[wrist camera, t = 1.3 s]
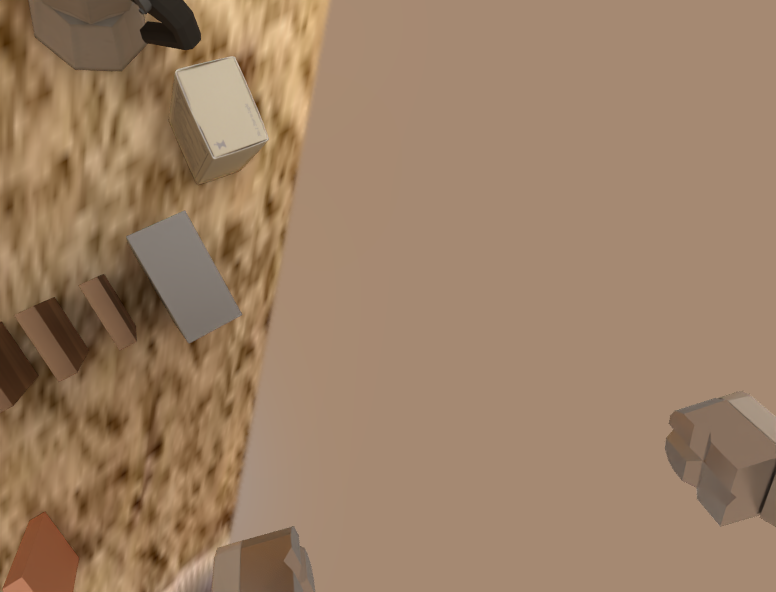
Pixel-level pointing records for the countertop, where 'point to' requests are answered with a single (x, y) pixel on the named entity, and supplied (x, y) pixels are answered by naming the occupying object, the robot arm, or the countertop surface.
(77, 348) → the walnut domino
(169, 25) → the coffee maker
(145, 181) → the countertop surface
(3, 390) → the walnut domino
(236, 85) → the skincare box
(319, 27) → the countertop surface
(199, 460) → the countertop surface
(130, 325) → the walnut domino
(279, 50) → the countertop surface
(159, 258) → the end block
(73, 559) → the terracotta domino
